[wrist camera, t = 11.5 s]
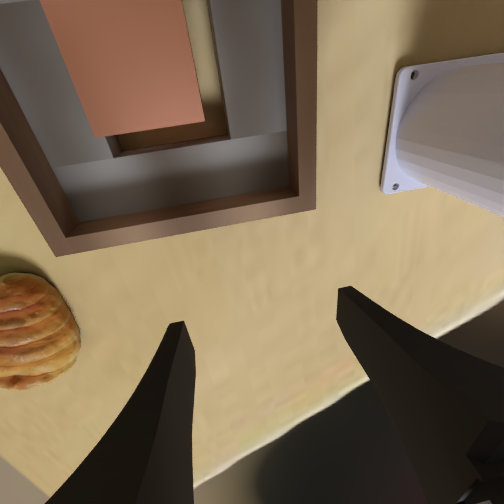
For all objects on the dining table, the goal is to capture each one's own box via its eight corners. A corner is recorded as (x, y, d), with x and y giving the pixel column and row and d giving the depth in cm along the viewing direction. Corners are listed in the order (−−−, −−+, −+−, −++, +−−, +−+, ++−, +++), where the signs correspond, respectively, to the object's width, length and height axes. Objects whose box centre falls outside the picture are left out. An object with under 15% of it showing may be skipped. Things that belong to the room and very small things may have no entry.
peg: (186, 23, 14) (175, -29, 8) (203, 110, 16) (204, 121, 10) (107, 32, 13) (34, -13, 8) (135, 120, 16) (95, 138, 10)
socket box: (283, -152, 11) (319, -254, 8) (295, 188, 19) (315, 209, 16) (-96, -123, 10) (-242, -229, 7) (82, 226, 18) (55, 257, 15)
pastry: (-38, 264, 18) (-88, 301, 15) (72, 268, 20) (48, 302, 17) (2, 355, 23) (-30, 398, 20) (89, 352, 25) (73, 392, 21)
